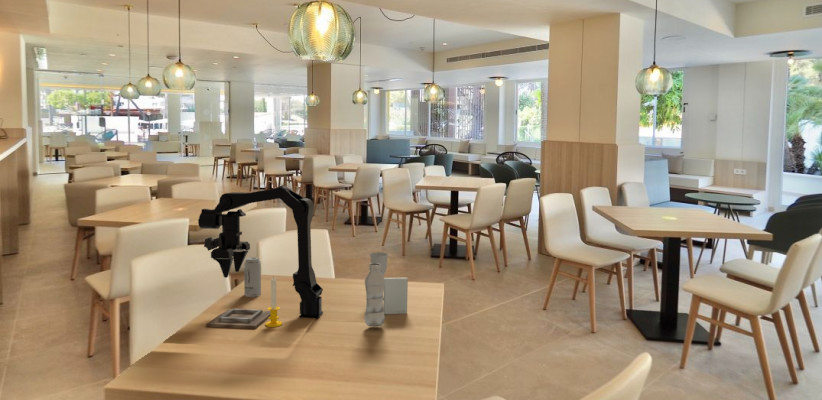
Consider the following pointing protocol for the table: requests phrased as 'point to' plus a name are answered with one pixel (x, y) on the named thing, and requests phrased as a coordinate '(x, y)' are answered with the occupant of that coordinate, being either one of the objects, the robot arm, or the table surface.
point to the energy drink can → (252, 277)
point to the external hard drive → (395, 295)
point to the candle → (273, 307)
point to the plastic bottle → (374, 296)
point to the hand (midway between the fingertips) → (231, 274)
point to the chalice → (380, 261)
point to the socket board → (240, 319)
